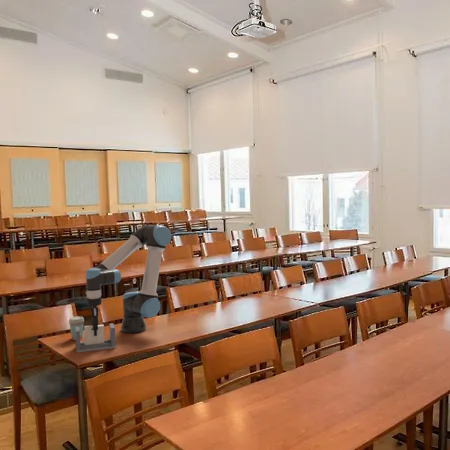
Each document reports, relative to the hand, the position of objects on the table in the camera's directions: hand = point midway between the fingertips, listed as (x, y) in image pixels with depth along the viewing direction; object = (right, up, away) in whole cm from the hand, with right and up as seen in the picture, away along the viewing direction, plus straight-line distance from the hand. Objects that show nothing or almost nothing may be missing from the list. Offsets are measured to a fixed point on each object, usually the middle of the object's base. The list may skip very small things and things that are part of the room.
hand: (95, 340), depth 260 cm
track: (0, -4, 0) cm, 4 cm away
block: (0, -2, 0) cm, 2 cm away
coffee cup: (-15, -3, +17) cm, 23 cm away
